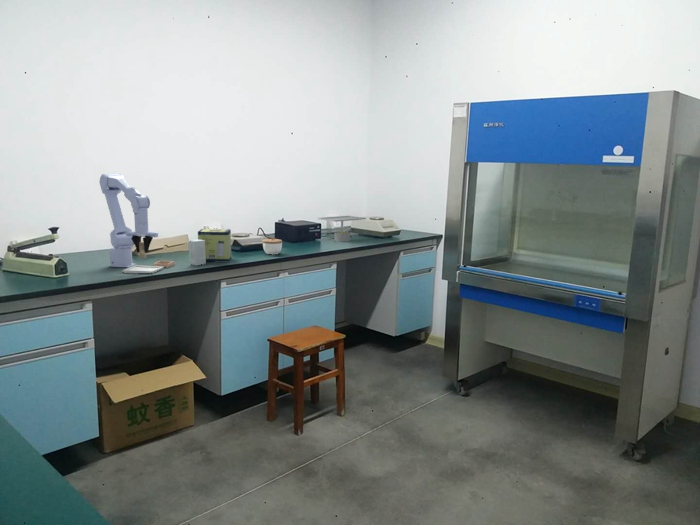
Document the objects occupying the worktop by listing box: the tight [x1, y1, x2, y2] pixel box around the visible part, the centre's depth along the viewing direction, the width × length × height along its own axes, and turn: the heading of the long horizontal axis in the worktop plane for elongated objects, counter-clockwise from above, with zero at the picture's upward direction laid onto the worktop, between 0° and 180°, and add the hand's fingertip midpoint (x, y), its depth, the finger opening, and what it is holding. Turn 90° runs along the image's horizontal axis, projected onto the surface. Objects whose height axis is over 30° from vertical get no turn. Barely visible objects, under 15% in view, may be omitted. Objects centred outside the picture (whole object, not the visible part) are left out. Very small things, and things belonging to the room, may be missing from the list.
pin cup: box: [152, 260, 176, 269], centre depth 270 cm, size 7×7×2 cm
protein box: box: [197, 228, 232, 263], centre depth 288 cm, size 10×16×16 cm
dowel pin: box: [138, 241, 148, 259], centre depth 256 cm, size 3×3×7 cm
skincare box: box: [189, 239, 207, 266], centre depth 276 cm, size 6×4×12 cm
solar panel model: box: [317, 215, 367, 243], centre depth 367 cm, size 28×17×15 cm, turn 133°
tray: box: [121, 264, 164, 274], centre depth 258 cm, size 14×12×1 cm
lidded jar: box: [262, 236, 283, 256], centre depth 310 cm, size 11×11×9 cm
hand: (142, 252), depth 256 cm, fingers closed on dowel pin, 3 cm apart
